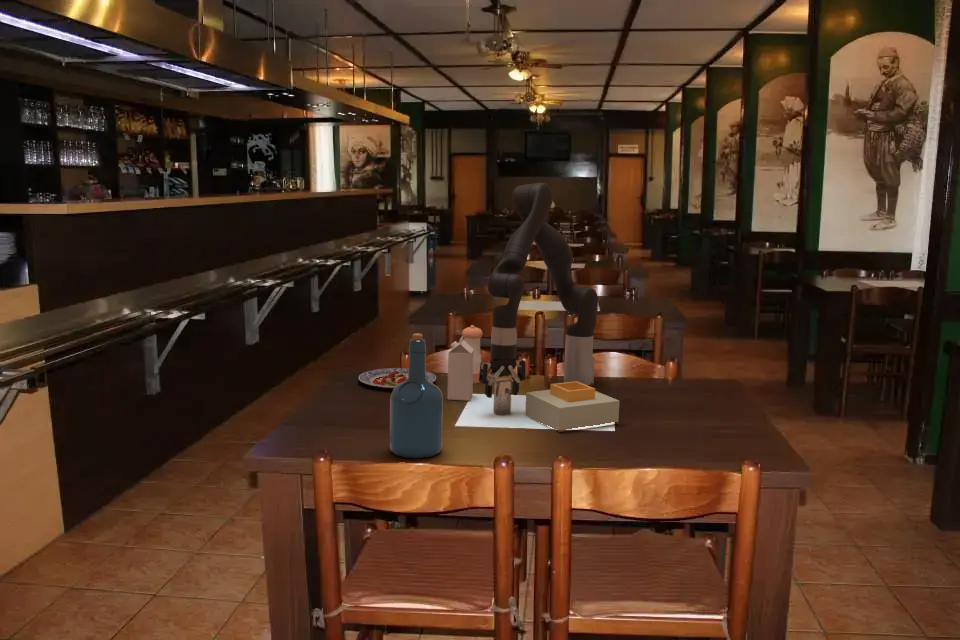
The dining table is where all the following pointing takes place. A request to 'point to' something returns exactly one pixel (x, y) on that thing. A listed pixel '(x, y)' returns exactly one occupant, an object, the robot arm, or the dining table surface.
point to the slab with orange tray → (571, 406)
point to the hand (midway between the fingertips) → (501, 395)
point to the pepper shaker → (473, 339)
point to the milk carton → (460, 371)
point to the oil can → (502, 396)
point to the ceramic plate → (389, 377)
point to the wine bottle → (416, 409)
